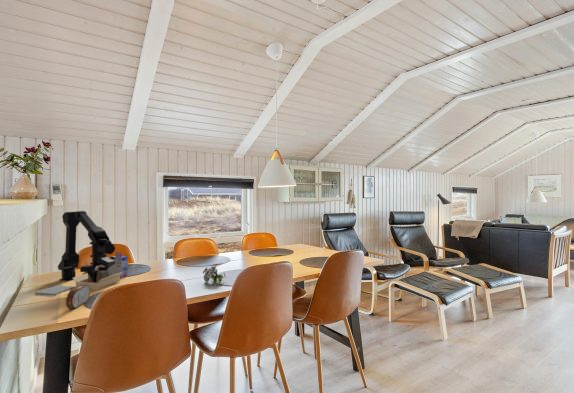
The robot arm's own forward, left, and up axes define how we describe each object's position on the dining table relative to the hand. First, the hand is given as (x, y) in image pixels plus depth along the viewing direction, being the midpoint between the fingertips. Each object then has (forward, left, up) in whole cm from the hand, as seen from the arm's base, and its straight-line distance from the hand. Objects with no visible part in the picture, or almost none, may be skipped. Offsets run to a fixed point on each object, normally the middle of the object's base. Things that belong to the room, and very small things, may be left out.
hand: (98, 281), depth 176 cm
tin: (+16, -29, -2) cm, 33 cm away
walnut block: (0, 0, -2) cm, 2 cm away
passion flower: (+61, +14, -2) cm, 63 cm away
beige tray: (0, 0, -2) cm, 2 cm away
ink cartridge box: (-1, +16, -2) cm, 16 cm away
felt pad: (-13, -14, -2) cm, 19 cm away
